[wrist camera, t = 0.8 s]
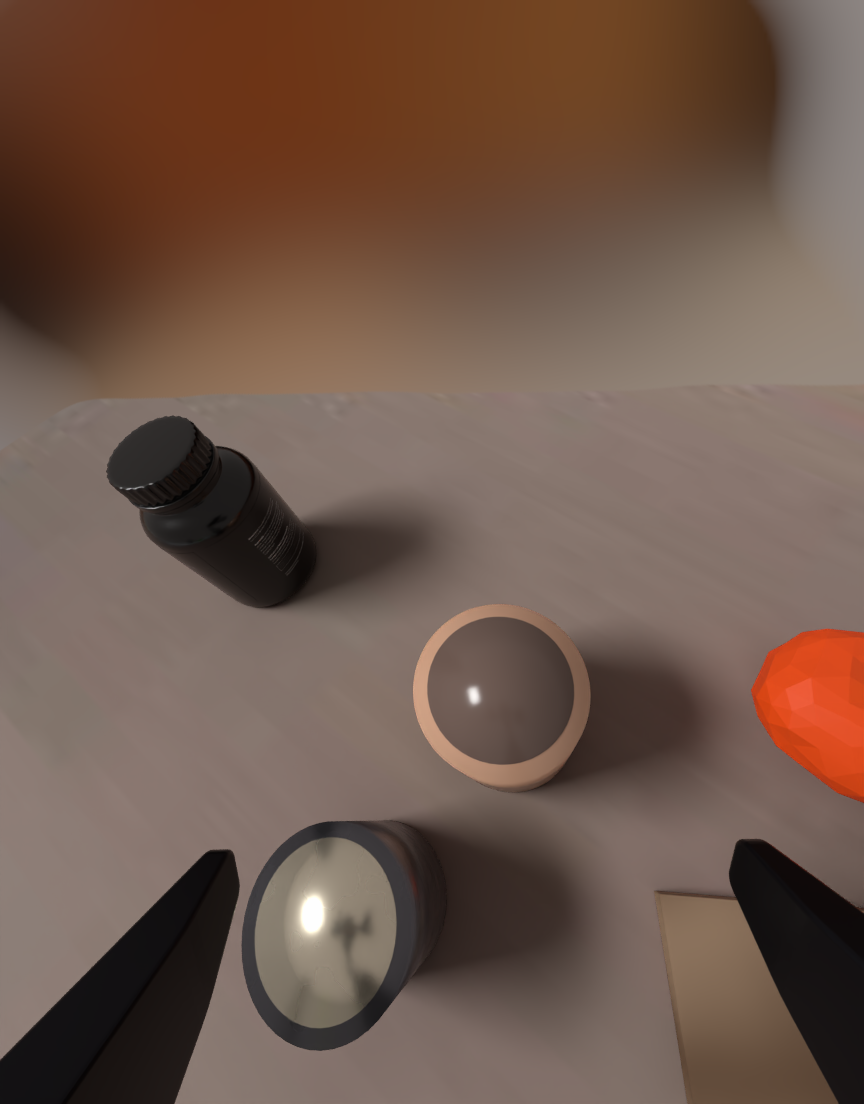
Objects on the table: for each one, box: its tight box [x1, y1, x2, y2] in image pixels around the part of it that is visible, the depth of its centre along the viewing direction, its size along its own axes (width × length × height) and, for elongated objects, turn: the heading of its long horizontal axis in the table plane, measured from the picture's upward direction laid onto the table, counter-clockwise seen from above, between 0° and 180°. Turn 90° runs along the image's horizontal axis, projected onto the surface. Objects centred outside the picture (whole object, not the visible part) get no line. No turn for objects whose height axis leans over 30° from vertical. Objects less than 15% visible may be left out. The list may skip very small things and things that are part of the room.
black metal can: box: [242, 821, 446, 1051], centre depth 18 cm, size 6×6×7 cm
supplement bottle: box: [106, 416, 316, 607], centre depth 27 cm, size 7×7×12 cm
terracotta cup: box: [413, 604, 591, 792], centre depth 21 cm, size 7×7×7 cm
